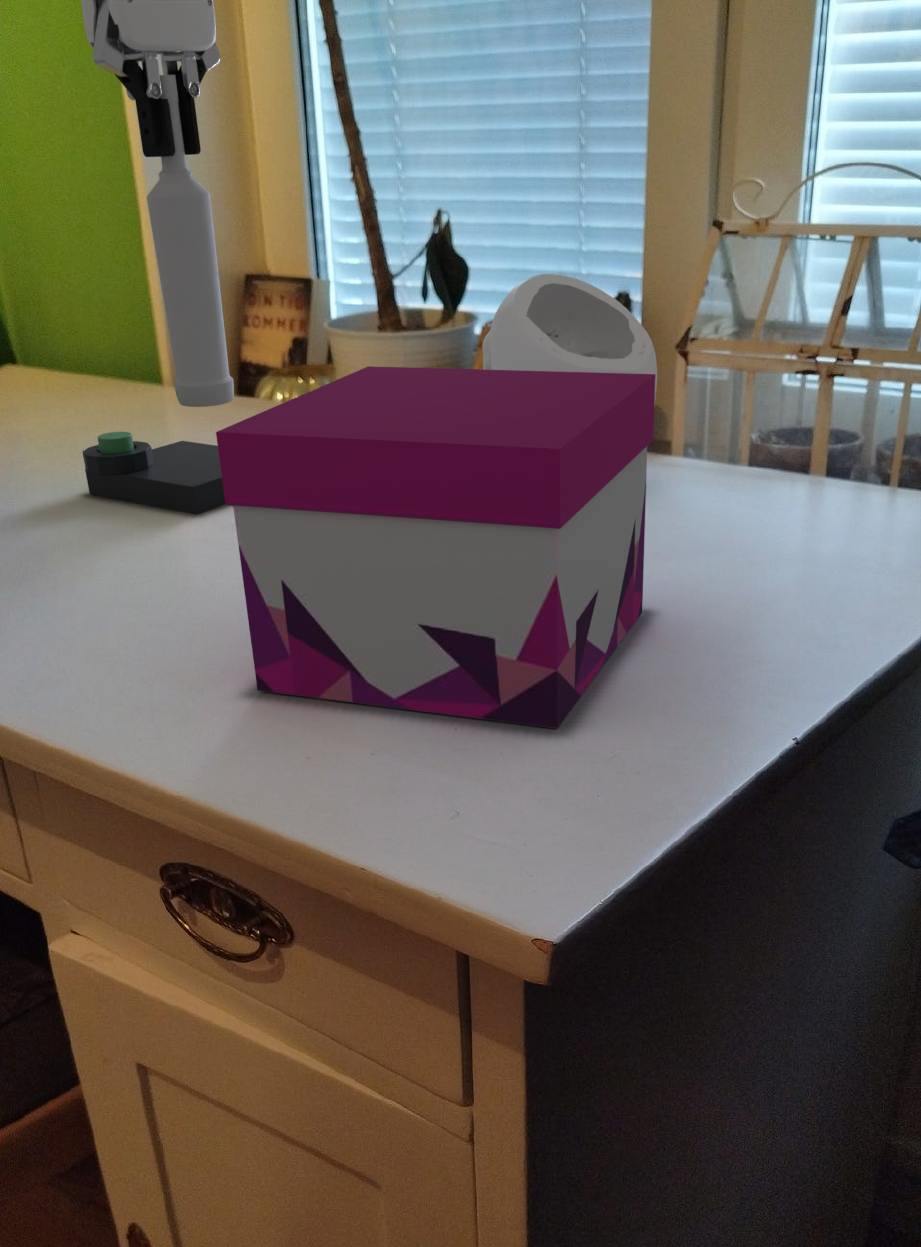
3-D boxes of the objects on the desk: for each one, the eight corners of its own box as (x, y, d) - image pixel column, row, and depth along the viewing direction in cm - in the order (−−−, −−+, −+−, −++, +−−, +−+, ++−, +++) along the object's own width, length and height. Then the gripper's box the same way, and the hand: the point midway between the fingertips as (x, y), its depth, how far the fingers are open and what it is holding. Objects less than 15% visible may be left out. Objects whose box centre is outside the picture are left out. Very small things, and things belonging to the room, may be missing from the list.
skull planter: (574, 416, 126) (612, 238, 111) (647, 556, 116) (701, 382, 100) (443, 431, 123) (463, 250, 107) (506, 577, 113) (539, 400, 97)
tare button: (93, 454, 113) (90, 437, 113) (119, 447, 116) (116, 430, 115) (115, 458, 112) (112, 440, 111) (141, 451, 114) (138, 433, 113)
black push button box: (78, 496, 115) (69, 452, 113) (182, 464, 124) (176, 423, 122) (188, 517, 107) (181, 470, 105) (291, 481, 116) (286, 437, 114)
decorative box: (384, 588, 89) (368, 366, 82) (647, 612, 83) (655, 374, 75) (250, 693, 74) (215, 432, 66) (560, 733, 67) (560, 448, 60)
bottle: (167, 407, 111) (117, 77, 98) (191, 395, 115) (146, 77, 103) (221, 407, 109) (178, 73, 97) (244, 395, 114) (205, 74, 101)
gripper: (178, -108, 101) (210, 151, 110) (13, -128, 90) (64, 162, 99) (245, -121, 97) (273, 149, 106) (82, -143, 86) (128, 160, 95)
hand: (172, 153), depth 103 cm, fingers closed on bottle, 2 cm apart
